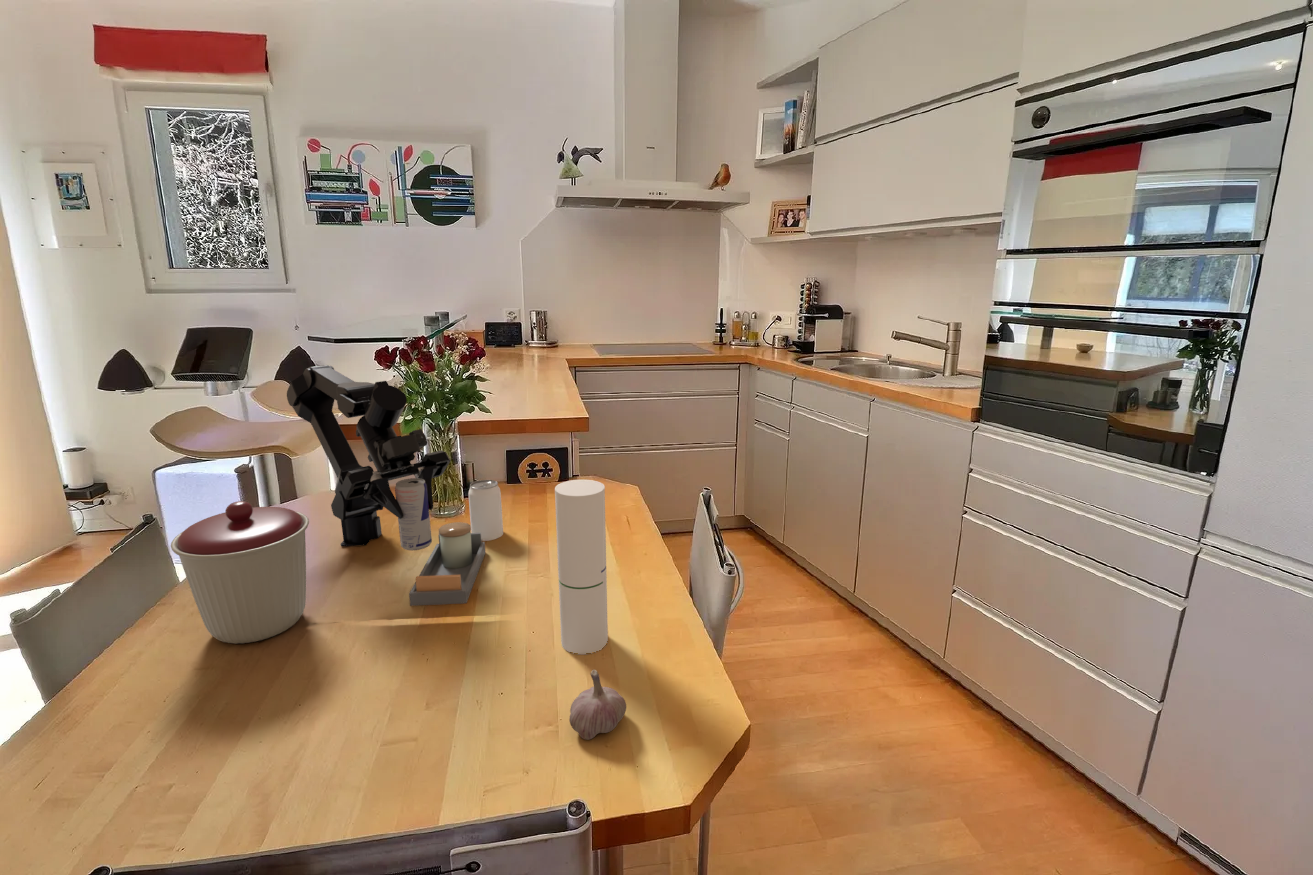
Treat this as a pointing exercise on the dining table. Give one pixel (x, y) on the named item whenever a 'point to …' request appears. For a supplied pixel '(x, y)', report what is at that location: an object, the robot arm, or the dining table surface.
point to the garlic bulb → (596, 710)
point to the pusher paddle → (438, 583)
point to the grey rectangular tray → (436, 568)
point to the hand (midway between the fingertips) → (417, 513)
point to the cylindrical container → (582, 565)
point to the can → (486, 509)
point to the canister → (246, 570)
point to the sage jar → (456, 545)
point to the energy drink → (413, 514)
